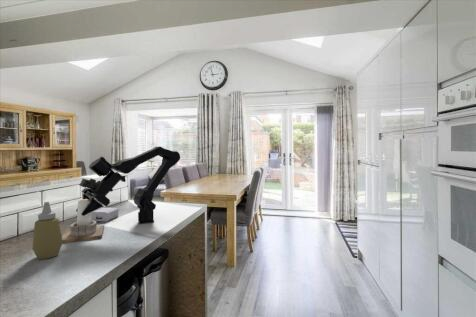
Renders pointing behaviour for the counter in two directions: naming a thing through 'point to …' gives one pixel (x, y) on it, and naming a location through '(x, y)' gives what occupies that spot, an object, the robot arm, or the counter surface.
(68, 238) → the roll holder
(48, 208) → the squeeze bottle
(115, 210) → the charger
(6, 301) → the counter surface
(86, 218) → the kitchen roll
